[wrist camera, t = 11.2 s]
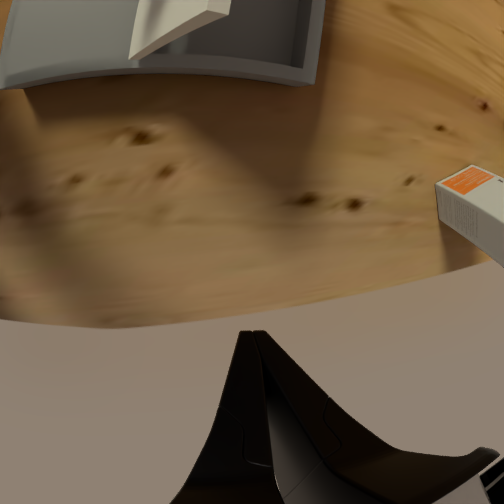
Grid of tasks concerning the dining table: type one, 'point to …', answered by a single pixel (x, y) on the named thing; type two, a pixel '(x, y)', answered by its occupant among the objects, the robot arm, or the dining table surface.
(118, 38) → the carton
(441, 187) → the skincare box
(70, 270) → the dining table surface
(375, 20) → the dining table surface
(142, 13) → the lid flap
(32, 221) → the dining table surface
